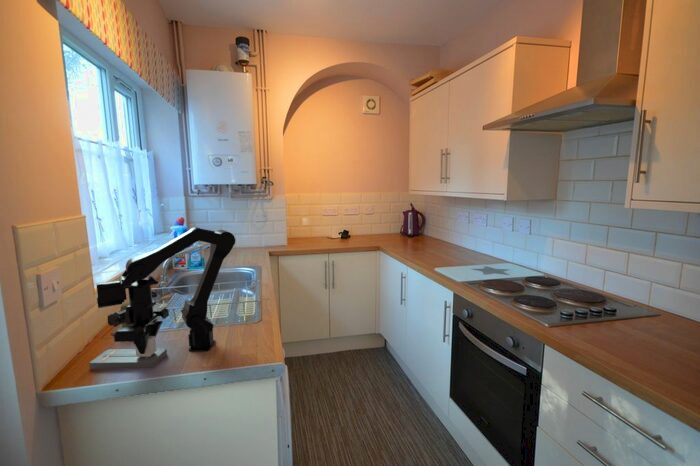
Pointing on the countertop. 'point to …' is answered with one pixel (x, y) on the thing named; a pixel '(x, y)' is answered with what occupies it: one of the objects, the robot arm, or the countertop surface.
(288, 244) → the countertop surface
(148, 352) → the block
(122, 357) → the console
